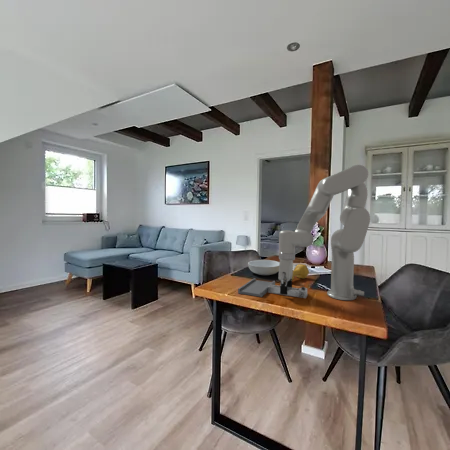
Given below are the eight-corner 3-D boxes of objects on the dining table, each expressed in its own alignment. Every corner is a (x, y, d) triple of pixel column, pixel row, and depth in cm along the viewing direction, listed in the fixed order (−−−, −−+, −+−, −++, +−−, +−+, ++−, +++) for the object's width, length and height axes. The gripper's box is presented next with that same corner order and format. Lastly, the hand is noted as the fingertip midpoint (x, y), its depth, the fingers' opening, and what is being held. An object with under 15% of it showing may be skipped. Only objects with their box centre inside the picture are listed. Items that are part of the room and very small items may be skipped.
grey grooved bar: (307, 295, 121) (307, 286, 121) (305, 298, 118) (305, 288, 117) (270, 290, 129) (270, 281, 129) (267, 292, 126) (268, 283, 125)
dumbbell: (297, 275, 158) (297, 262, 157) (310, 278, 151) (310, 265, 150) (277, 281, 146) (277, 267, 145) (290, 284, 139) (291, 270, 138)
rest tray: (274, 284, 138) (275, 280, 138) (261, 297, 119) (261, 292, 119) (254, 281, 144) (254, 278, 144) (238, 293, 124) (238, 288, 124)
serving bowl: (241, 271, 167) (241, 261, 167) (267, 268, 177) (267, 258, 177) (260, 279, 149) (260, 268, 149) (288, 275, 159) (288, 264, 158)
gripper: (283, 252, 132) (283, 285, 133) (274, 258, 117) (273, 295, 118) (298, 254, 128) (297, 287, 130) (290, 260, 113) (289, 297, 114)
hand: (286, 291), depth 124 cm, fingers open, 9 cm apart
